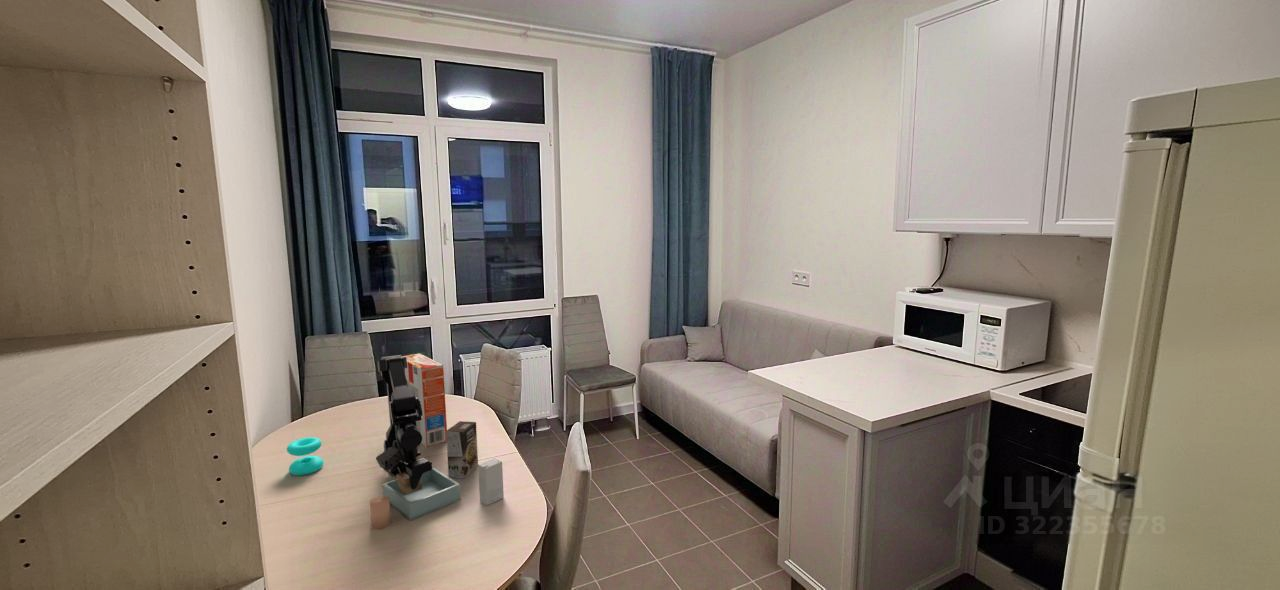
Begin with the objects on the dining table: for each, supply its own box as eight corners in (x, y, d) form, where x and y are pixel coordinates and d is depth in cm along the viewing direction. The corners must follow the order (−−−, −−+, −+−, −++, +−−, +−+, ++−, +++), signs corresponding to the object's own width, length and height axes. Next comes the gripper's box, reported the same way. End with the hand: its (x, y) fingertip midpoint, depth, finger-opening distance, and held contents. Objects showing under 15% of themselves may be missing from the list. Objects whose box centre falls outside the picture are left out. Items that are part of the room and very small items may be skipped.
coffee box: (465, 478, 178) (463, 432, 176) (447, 477, 180) (445, 430, 177) (479, 466, 187) (476, 421, 185) (462, 464, 189) (459, 420, 186)
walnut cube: (414, 483, 167) (413, 468, 166) (422, 489, 164) (421, 473, 163) (398, 489, 163) (396, 474, 163) (405, 495, 160) (404, 479, 159)
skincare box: (495, 493, 169) (494, 456, 167) (504, 498, 166) (503, 461, 164) (478, 501, 164) (476, 463, 163) (487, 506, 162) (485, 468, 160)
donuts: (282, 442, 183) (315, 433, 190) (285, 470, 185) (318, 460, 192) (291, 451, 176) (325, 441, 184) (294, 479, 178) (327, 469, 185)
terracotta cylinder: (368, 524, 153) (366, 500, 152) (386, 517, 156) (385, 494, 155) (375, 531, 149) (373, 507, 148) (393, 523, 153) (392, 500, 152)
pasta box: (447, 440, 208) (443, 364, 204) (426, 447, 203) (421, 369, 198) (424, 423, 225) (419, 353, 220) (404, 429, 219) (399, 356, 215)
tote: (383, 499, 166) (382, 484, 165) (432, 480, 177) (431, 466, 176) (410, 521, 154) (409, 504, 153) (460, 499, 166) (459, 484, 165)
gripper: (365, 436, 161) (369, 485, 164) (393, 455, 149) (397, 508, 151) (402, 425, 169) (405, 472, 172) (431, 442, 157) (435, 492, 159)
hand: (409, 486), depth 163 cm, fingers closed on walnut cube, 5 cm apart
